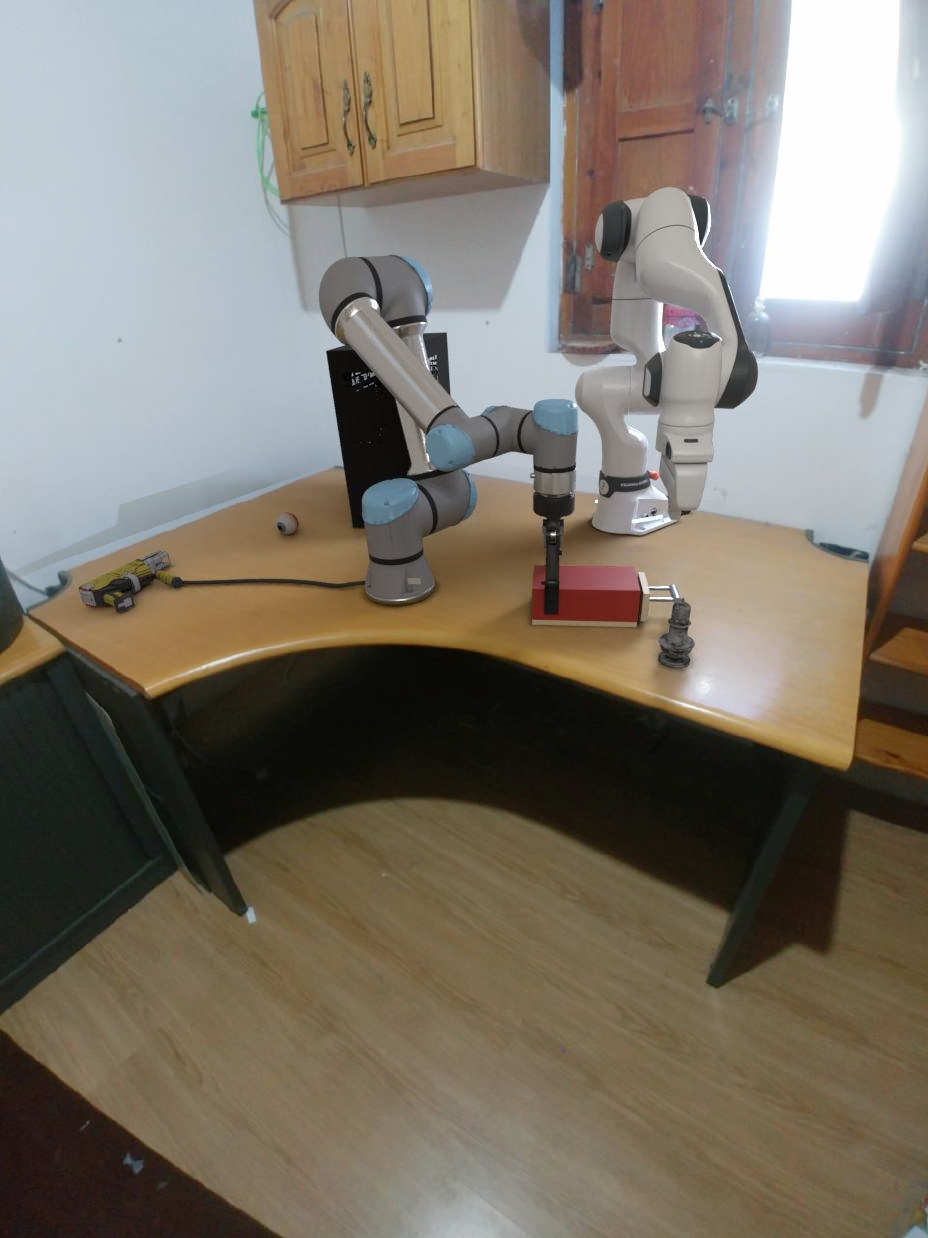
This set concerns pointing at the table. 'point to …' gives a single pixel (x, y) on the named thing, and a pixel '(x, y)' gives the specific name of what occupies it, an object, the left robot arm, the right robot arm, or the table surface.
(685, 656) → the chess piece
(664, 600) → the drawer
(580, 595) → the cabinet
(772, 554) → the table surface
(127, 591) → the toy gun
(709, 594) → the table surface
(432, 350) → the cardboard box
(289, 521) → the eyeball
